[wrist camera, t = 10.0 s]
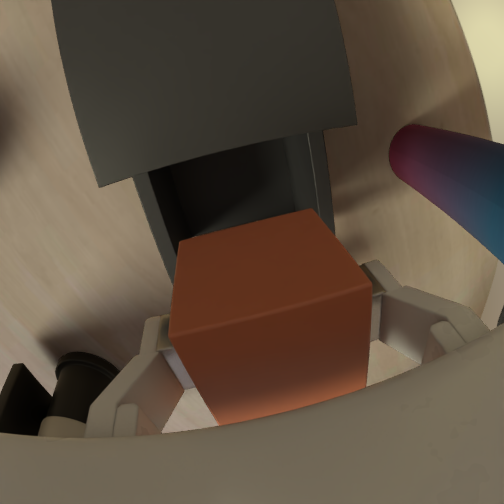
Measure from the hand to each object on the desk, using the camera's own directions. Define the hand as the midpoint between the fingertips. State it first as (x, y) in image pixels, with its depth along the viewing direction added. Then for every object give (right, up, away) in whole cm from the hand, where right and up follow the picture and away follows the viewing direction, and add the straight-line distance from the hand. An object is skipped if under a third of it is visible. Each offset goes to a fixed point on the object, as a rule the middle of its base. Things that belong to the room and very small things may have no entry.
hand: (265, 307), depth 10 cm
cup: (+13, +10, +13) cm, 21 cm away
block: (0, +1, +1) cm, 2 cm away
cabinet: (-4, +16, +7) cm, 18 cm away
